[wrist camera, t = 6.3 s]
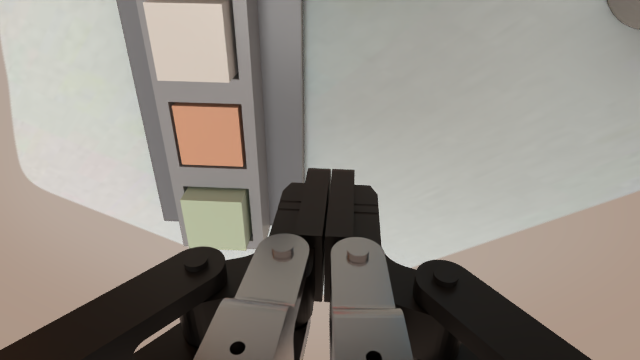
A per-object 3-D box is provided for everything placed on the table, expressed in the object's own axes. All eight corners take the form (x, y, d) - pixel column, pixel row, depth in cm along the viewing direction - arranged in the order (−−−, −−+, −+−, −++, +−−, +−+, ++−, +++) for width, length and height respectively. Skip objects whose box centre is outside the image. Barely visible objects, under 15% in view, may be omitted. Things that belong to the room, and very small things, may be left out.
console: (302, -26, 34) (295, -19, 29) (304, 215, 46) (299, 251, 41) (122, -29, 34) (82, -23, 29) (171, 210, 46) (149, 244, 41)
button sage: (248, 184, 39) (241, 202, 36) (252, 230, 41) (246, 250, 39) (190, 182, 39) (179, 200, 36) (198, 228, 42) (189, 248, 39)
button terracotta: (245, 95, 36) (237, 107, 33) (249, 151, 39) (243, 166, 36) (184, 93, 36) (171, 105, 34) (192, 149, 39) (182, 164, 36)
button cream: (232, -2, 30) (221, 4, 28) (238, 71, 33) (229, 82, 31) (159, -4, 31) (142, 2, 28) (172, 69, 33) (157, 80, 31)
